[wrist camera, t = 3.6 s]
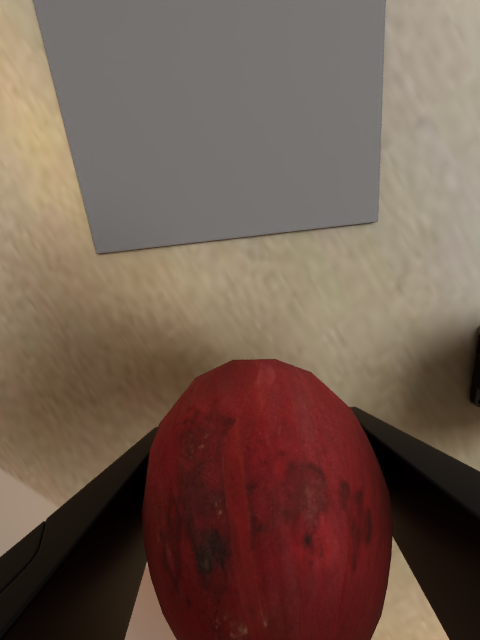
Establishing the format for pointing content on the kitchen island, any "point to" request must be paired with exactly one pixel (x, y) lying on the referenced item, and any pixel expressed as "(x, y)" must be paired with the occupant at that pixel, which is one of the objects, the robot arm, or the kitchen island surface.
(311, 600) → the onion
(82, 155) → the mat
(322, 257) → the kitchen island surface
